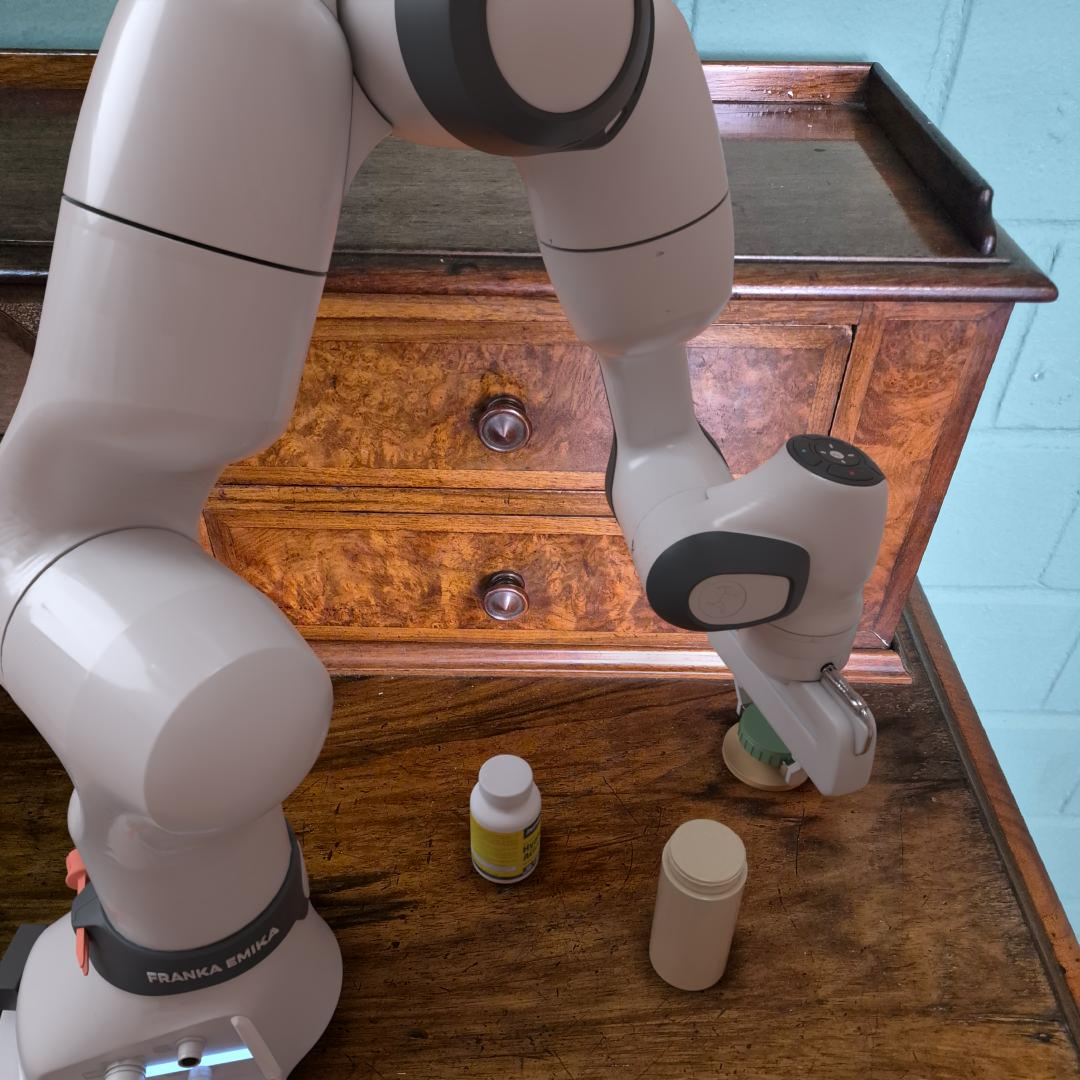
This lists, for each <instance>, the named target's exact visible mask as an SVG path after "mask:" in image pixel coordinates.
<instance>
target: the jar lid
mask: <svg viewBox="0 0 1080 1080" xmlns="http://www.w3.org/2000/svg"><path fill="white" fill-rule="evenodd" d="M738 723H739V726H738V728H739V730H738V734H737V735H738V736H739V742H740V743H741V745H742V746H743V748H744V749H745V750H746V751H747V752H748V753H749V754H750V755H751V756H753V757H754V758H755V759H757V760H758V761H761V762H763V763H766V764H769V765H773V766H781V762H782V760H784V759H788V760H790V759H792V753H791V752H790V751H789V749H788V748H787V747H786V745H785V744H784V743H783V741H782V740H781V739H780V737H779V736H778V735H777V733H776V732H775V731H774V729H773V728H772V727H771V725H770V724H769V723H768V721H767V720H766V718H765V717H764V716H763V714H762V713H761V712H760V710H759V709H758V708H757V706H756V705H755V704H752V705H750V706H749V707H747V708H746V710H745V711H744V712H743V715H742V718H741V717H740V718H739V722H738Z"/></svg>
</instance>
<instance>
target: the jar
mask: <svg viewBox="0 0 1080 1080" xmlns="http://www.w3.org/2000/svg"><path fill="white" fill-rule="evenodd" d="M748 873H749V867H748V862H747V850H746V847H745V845H744V841H743V840H742V839H741V838H740V836H739V834H738V833H737V834H736V833H735V831H734V830H732V829H731V828H730V827H728V826H726V825H725V824H723V823H722V822H719V821H717V820H713V819H707V818H697V819H691V820H689V821H686V822H684V823H683V824H681V825H680V826H678V827H677V828H676V830H675V831H673V833H672V835H671V836H670V838H669V839H668V840H667V841H666V843H665V845H664V847H663V849H662V853H661V861H660V868H659V876H658V883H657V889H656V896H655V902H654V908H653V909H654V910H653V917H652V923H651V930H650V937H649V945H648V954H649V959H650V962H651V965H652V967H653V969H654V970H655V972H656V973H657V975H658V976H659V977H660V978H661V979H662V980H663V981H665V982H666V983H667V984H669V985H670V986H672V987H674V988H676V989H680V990H683V991H689V992H691V991H693V992H696V991H702V990H706V989H709V988H710V987H712V986H713V985H715V984H717V982H719V980H720V979H721V978H722V977H723V975H724V973H725V970H726V967H727V963H728V959H729V955H730V951H731V946H732V942H733V938H734V933H735V929H736V925H737V921H738V916H739V913H740V908H741V904H742V899H743V896H744V891H745V887H746V882H747V878H748Z"/></svg>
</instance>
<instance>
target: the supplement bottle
mask: <svg viewBox="0 0 1080 1080" xmlns="http://www.w3.org/2000/svg"><path fill="white" fill-rule="evenodd" d="M469 818H470V819H469V821H470V823H469V824H470V852H471V860H472V864H473V866H474V868H475V870H476V872H478V874H479V875H481V877H483V878H485V879H486V880H488V881H491V882H493V883H497V884H513V883H518V882H520V881H522V880H524V879H526V878H527V877H528V876H530V875H531V874H532V873H533V872H534V870H535V869H536V867H537V865H538V863H539V859H540V847H541V846H540V845H541V829H542V828H541V826H542V825H541V824H542V796H541V793H540V790H539V787H538V786H537V785H536V783H535V782H534V773H533V769H532V767H531V765H530V764H529V763H528V762H527V761H526V760H525V759H523V758H522V757H520V756H517V755H513V754H499V755H496V756H492V757H491V758H489V759H487V760H486V761H485V762H484V763H483V764H482V765H481V767H480V770H479V773H478V782H476V784H475V785H474V786H473V789H472V790H471V794H470V799H469Z"/></svg>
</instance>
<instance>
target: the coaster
mask: <svg viewBox="0 0 1080 1080" xmlns="http://www.w3.org/2000/svg"><path fill="white" fill-rule="evenodd" d="M738 726H739V722H737V723H735V724H733V725H732V726H731V727H730V728H729V729H728V731H727V732H726V733H725V736H724V739H723V742H722V749H721V751H722V757H723V760H724V763H725V765H726V767H727V768H728V770H729V771H730V773H732V774H733V775H734V776H735V777H736V778H737V779H738V780H740V781H741V782H743V783H744V784H746V785H748V786H749V787H752V788H755V789H758V790H762V791H767V792H785V791H790V790H793V789H796V788H798V787H799V786H801V785H802V784H804V782H802V783H799V784H795V785H792V786H790V785H788V783H787V782H786V780H785V779H784V777H783V776H782V775H781V773H780V769H781V766H773V765H769V764H766V763H763V762H761V761H758V760H757V759H755V758H754V757H753V756H751V755H750V754H749V753H748V752H747V751H746V750H745V749H744V748H743V746H742V745H741V743H740V742H739V736H738V735H737V734H738V730H739V728H738ZM808 778H809V776H808V775H807V778H806V780H807V779H808Z"/></svg>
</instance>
